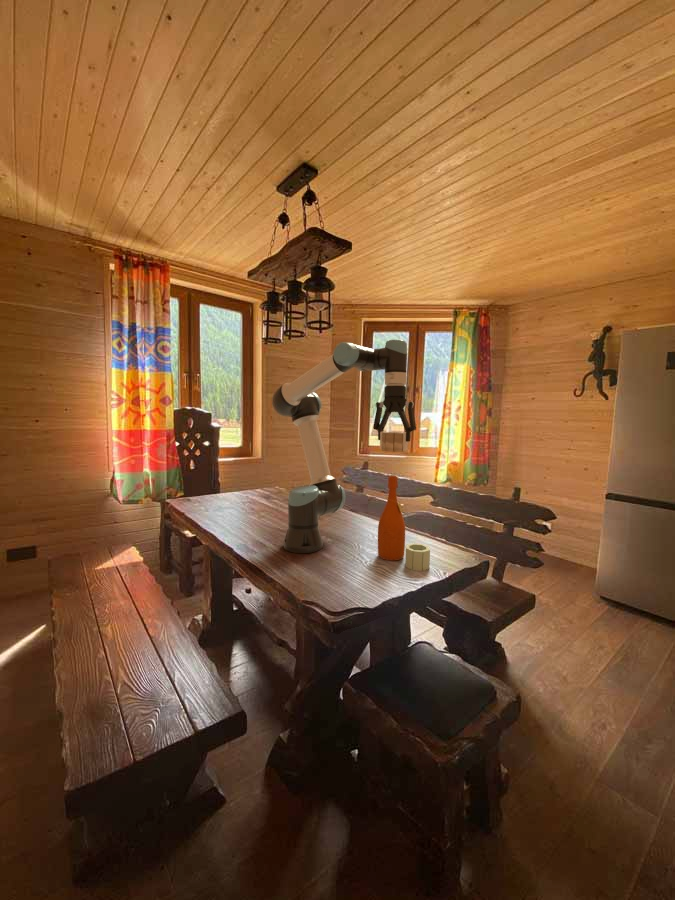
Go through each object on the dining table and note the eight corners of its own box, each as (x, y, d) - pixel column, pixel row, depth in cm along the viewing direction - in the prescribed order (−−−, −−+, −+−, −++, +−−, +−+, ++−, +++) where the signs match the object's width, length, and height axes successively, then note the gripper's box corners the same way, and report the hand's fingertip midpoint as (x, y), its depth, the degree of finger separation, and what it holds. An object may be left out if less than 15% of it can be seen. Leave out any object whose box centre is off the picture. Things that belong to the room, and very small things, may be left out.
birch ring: (378, 451, 131) (379, 432, 131) (387, 449, 138) (388, 431, 138) (399, 452, 127) (400, 433, 127) (408, 450, 134) (408, 432, 133)
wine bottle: (389, 563, 129) (391, 478, 127) (372, 554, 138) (373, 474, 135) (410, 558, 135) (412, 476, 132) (392, 550, 143) (394, 472, 140)
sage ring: (405, 569, 125) (405, 550, 124) (405, 560, 133) (406, 542, 132) (429, 571, 123) (430, 552, 123) (428, 562, 131) (429, 544, 131)
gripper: (364, 385, 133) (362, 449, 135) (420, 383, 122) (418, 452, 124) (373, 387, 139) (371, 448, 141) (427, 385, 128) (425, 451, 130)
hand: (393, 450), depth 133 cm, fingers closed on birch ring, 8 cm apart
